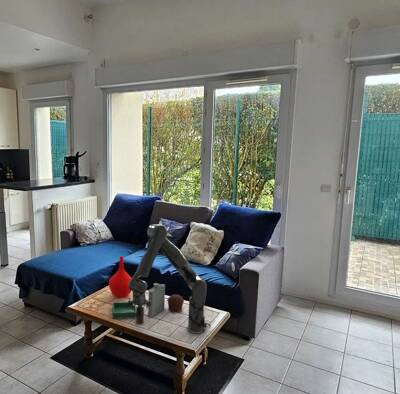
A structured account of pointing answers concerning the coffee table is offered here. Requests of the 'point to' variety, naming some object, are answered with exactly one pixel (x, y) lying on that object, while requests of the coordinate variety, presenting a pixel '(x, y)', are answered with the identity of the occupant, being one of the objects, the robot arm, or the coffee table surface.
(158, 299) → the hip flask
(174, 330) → the coffee table surface
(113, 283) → the vase
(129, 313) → the tray
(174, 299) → the muffin
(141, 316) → the pepper mill
